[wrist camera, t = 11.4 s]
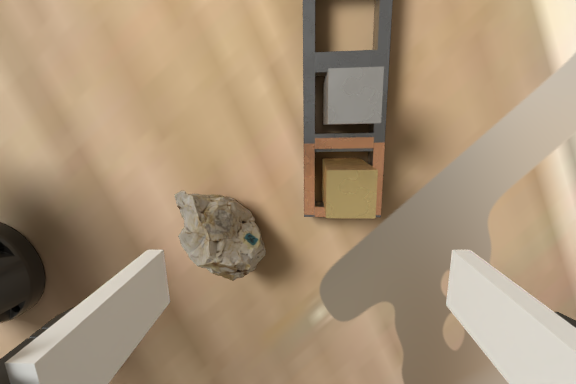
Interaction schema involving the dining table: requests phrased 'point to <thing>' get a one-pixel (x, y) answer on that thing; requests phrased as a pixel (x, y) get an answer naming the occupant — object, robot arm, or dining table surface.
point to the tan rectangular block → (349, 188)
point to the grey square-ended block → (353, 95)
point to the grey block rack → (314, 67)
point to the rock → (219, 234)
